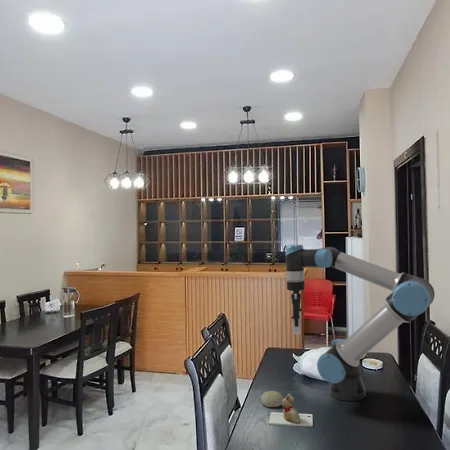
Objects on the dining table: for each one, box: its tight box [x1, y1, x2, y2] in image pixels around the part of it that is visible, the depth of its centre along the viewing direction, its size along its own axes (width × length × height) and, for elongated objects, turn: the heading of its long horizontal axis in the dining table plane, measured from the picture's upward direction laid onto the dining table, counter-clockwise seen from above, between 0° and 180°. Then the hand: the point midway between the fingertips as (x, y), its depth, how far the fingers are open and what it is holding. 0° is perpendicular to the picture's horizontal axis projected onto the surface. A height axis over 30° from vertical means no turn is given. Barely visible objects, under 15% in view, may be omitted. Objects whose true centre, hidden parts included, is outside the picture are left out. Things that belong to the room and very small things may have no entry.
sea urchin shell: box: [260, 390, 284, 408], centre depth 172 cm, size 9×8×8 cm
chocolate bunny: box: [281, 393, 300, 424], centre depth 156 cm, size 6×8×10 cm
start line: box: [270, 411, 313, 417], centre depth 161 cm, size 16×2×1 cm, turn 79°
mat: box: [268, 414, 314, 428], centre depth 156 cm, size 16×7×1 cm, turn 79°
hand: (297, 330), depth 178 cm, fingers open, 13 cm apart
